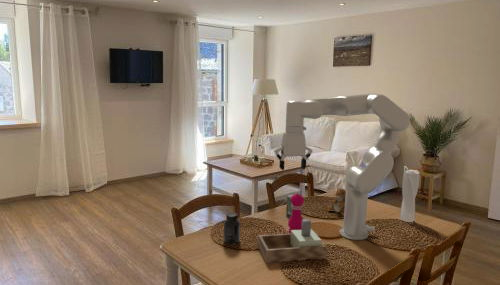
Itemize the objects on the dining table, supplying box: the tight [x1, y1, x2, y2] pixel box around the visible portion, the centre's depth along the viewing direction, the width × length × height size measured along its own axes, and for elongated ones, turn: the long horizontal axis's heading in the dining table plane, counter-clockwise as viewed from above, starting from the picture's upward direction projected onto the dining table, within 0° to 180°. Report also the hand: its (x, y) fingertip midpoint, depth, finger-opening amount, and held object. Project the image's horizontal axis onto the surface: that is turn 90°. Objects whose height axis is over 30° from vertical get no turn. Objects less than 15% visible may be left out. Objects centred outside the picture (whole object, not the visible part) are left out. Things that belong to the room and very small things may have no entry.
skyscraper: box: [398, 165, 420, 223], centre depth 186 cm, size 8×8×28 cm
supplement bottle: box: [223, 212, 241, 245], centre depth 159 cm, size 7×7×12 cm
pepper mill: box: [287, 190, 305, 234], centre depth 168 cm, size 7×7×20 cm
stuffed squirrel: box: [326, 187, 346, 214], centre depth 200 cm, size 10×14×13 cm
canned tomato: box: [285, 193, 303, 219], centre depth 190 cm, size 8×8×11 cm
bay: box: [257, 233, 327, 264], centre depth 150 cm, size 24×14×5 cm, turn 102°
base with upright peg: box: [290, 218, 322, 247], centre depth 151 cm, size 9×11×12 cm
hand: (292, 168), depth 162 cm, fingers open, 9 cm apart
